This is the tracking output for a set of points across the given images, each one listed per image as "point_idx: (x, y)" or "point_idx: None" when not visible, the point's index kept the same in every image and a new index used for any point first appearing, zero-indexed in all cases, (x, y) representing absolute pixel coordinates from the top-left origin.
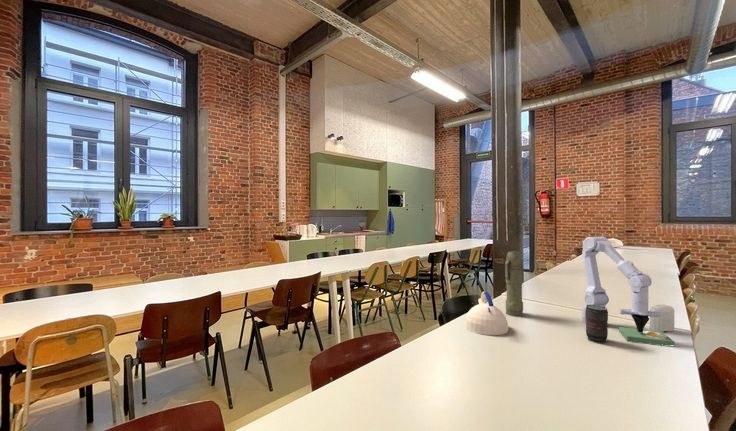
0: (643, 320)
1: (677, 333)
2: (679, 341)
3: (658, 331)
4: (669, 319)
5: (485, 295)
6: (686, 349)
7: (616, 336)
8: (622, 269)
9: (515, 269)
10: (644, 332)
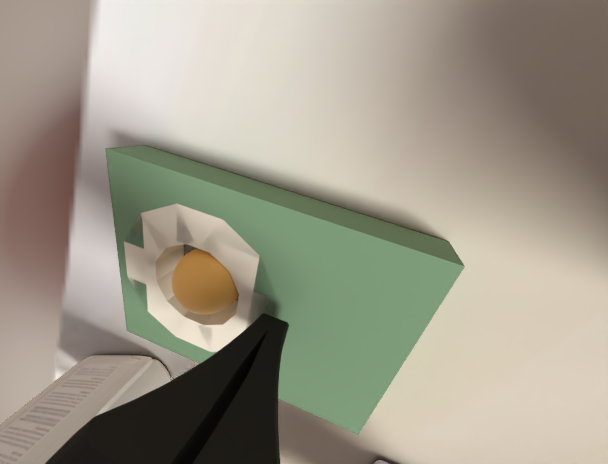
0: (173, 437)
1: (83, 335)
2: (97, 243)
3: (144, 336)
4: (26, 419)
5: None
6: (92, 102)
7: (457, 337)
8: None
9: None
10: (235, 331)
